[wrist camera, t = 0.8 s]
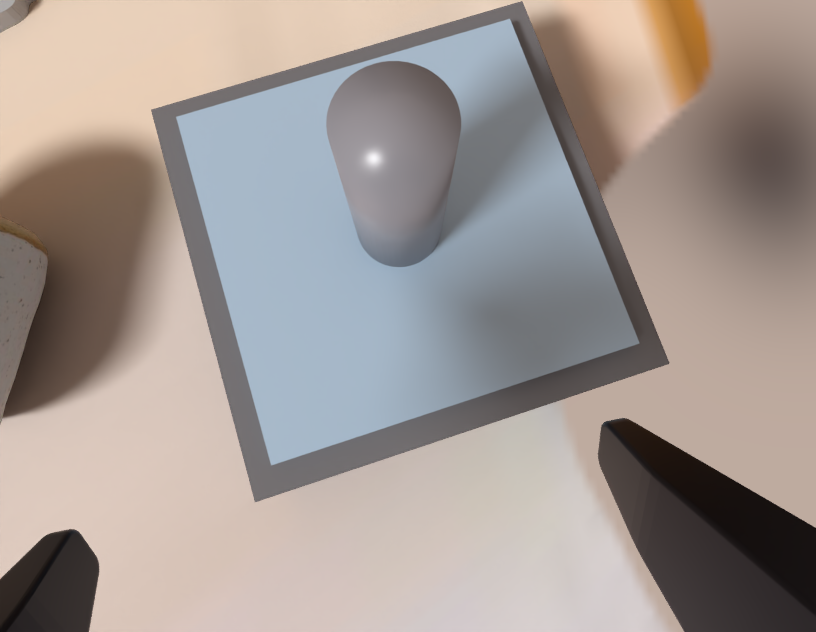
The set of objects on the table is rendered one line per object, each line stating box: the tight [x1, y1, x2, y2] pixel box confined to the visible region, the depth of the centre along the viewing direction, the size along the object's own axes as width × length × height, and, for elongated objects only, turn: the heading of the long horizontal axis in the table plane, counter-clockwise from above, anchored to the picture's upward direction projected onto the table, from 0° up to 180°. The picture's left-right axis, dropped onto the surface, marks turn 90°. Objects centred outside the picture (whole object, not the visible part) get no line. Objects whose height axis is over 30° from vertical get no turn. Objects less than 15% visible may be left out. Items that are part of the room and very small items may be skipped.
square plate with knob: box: [176, 19, 639, 465], centre depth 15 cm, size 13×13×8 cm
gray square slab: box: [151, 1, 669, 502], centre depth 21 cm, size 15×15×4 cm
